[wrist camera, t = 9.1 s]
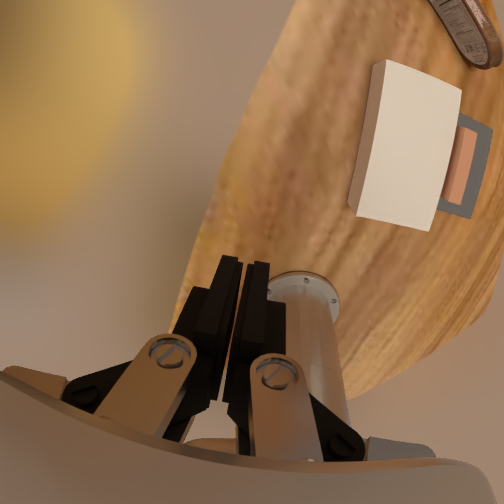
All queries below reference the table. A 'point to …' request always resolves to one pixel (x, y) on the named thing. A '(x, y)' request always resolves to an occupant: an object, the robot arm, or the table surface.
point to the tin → (471, 31)
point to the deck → (404, 146)
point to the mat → (471, 169)
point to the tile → (459, 165)
